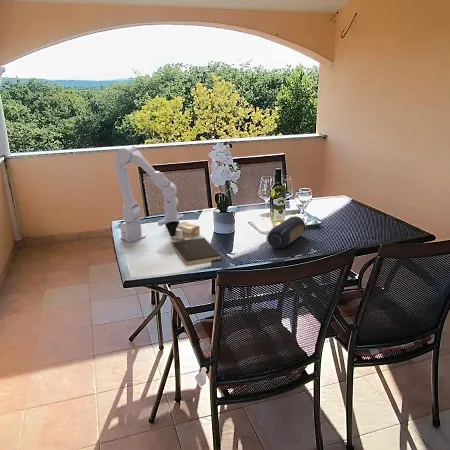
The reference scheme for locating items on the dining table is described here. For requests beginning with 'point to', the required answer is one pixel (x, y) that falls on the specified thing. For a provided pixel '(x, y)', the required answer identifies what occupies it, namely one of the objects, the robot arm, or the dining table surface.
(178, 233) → the cream white block
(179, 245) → the hardcover book
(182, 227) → the tan cardboard box
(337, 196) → the dining table surface
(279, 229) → the portable speaker
